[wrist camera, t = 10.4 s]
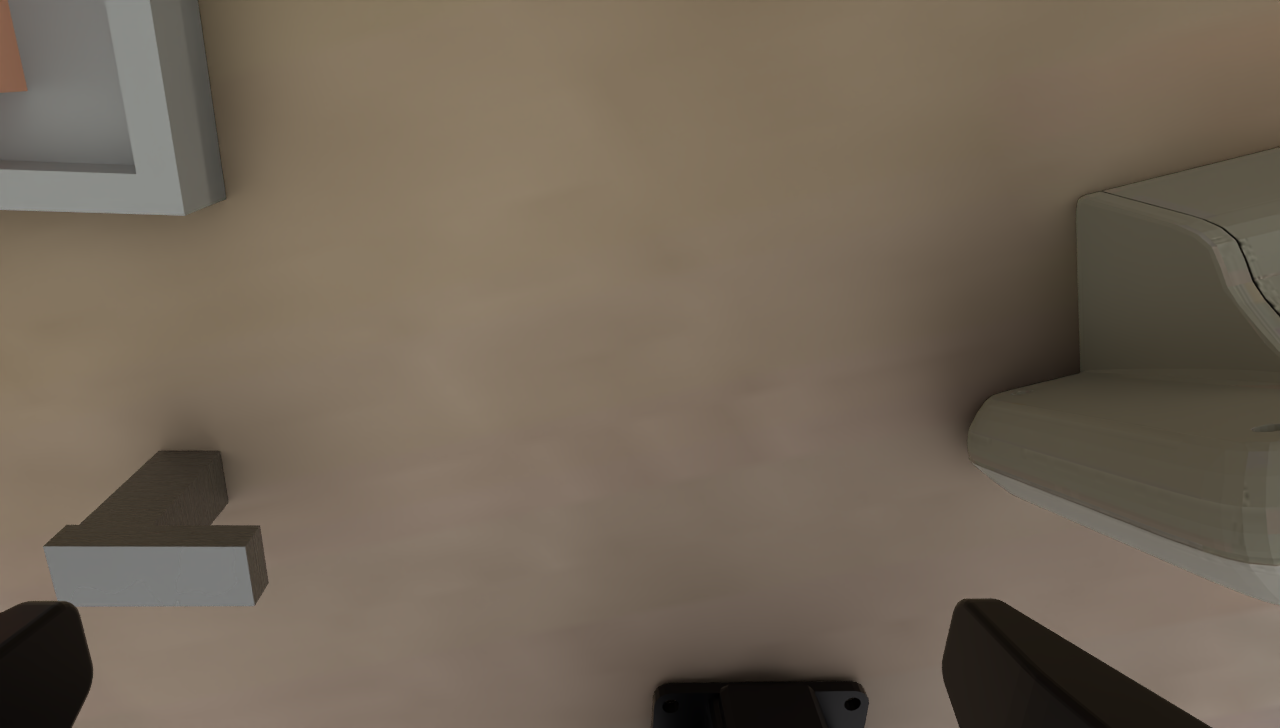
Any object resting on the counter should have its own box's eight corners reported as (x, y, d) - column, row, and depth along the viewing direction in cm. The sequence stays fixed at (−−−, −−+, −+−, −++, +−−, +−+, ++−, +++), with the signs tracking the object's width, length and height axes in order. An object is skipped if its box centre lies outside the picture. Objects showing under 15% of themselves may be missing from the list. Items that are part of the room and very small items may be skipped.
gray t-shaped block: (316, 503, 21) (254, 605, 17) (158, 502, 21) (59, 606, 17) (310, 452, 20) (245, 546, 17) (148, 451, 20) (42, 546, 16)
